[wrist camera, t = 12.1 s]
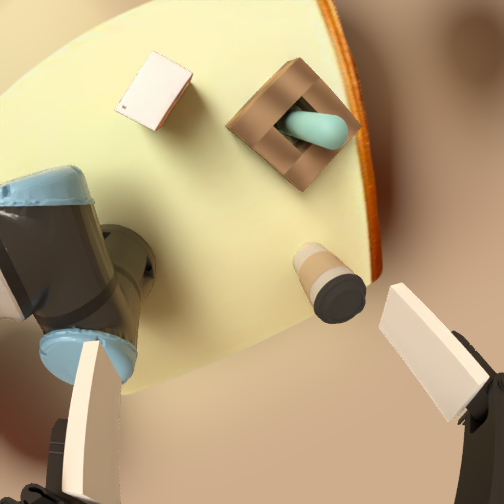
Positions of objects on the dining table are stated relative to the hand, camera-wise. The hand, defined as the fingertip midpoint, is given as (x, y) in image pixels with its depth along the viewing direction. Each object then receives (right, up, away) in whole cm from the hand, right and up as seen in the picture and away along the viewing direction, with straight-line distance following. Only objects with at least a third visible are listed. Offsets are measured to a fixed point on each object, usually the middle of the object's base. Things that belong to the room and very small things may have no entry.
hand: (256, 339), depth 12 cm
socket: (+6, +23, +29) cm, 38 cm away
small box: (-13, +26, +23) cm, 37 cm away
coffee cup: (+11, +3, +42) cm, 44 cm away
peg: (+5, +23, +29) cm, 38 cm away
